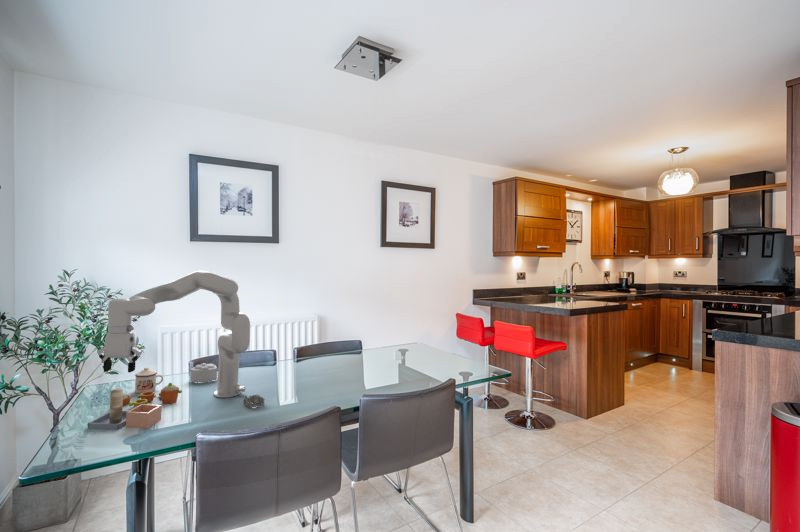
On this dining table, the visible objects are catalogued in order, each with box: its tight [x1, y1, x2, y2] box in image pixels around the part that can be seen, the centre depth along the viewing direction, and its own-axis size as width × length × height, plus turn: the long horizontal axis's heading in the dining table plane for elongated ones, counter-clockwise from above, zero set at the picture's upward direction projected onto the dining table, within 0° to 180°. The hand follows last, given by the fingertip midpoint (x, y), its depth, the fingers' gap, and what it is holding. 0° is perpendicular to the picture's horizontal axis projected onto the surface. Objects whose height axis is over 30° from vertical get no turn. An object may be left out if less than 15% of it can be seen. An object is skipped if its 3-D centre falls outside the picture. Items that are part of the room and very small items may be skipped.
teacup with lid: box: [134, 367, 164, 394], centre depth 191 cm, size 12×9×12 cm
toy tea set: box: [122, 382, 183, 408], centre depth 174 cm, size 26×16×10 cm, turn 138°
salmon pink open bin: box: [125, 403, 163, 429], centre depth 152 cm, size 9×9×7 cm
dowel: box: [109, 388, 124, 424], centre depth 152 cm, size 4×4×13 cm
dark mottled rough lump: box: [242, 393, 266, 409], centre depth 179 cm, size 11×8×4 cm
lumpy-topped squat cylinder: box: [189, 362, 218, 384], centre depth 210 cm, size 10×13×9 cm
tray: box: [87, 409, 129, 431], centre depth 152 cm, size 12×13×3 cm
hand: (119, 371), depth 152 cm, fingers open, 9 cm apart
